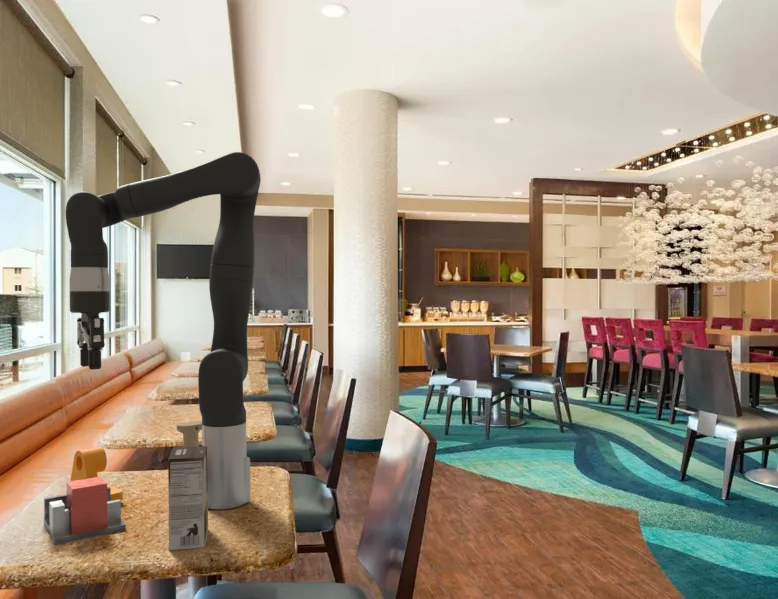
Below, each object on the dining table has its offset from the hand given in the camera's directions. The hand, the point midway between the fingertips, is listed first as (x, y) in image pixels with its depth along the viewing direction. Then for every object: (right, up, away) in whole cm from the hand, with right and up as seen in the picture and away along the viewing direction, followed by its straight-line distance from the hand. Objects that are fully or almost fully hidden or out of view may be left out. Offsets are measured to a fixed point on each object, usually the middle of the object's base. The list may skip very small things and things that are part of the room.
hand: (90, 367), depth 129 cm
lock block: (+4, -29, -11) cm, 31 cm away
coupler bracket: (+3, -30, -9) cm, 31 cm away
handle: (+16, -30, +16) cm, 38 cm away
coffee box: (+26, -30, -16) cm, 43 cm away
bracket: (-2, -30, +6) cm, 31 cm away
